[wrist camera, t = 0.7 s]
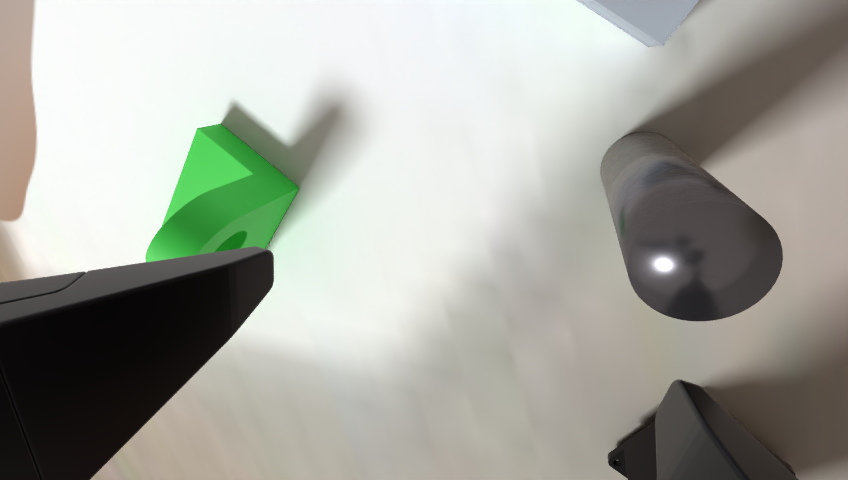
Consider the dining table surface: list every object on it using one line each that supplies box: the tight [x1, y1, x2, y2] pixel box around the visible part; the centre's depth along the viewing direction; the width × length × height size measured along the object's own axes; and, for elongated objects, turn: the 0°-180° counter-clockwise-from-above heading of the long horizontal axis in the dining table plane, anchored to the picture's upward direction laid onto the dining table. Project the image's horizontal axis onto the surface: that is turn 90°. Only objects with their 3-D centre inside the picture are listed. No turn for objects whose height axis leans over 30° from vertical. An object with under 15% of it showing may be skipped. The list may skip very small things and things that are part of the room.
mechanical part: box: [146, 124, 299, 262], centre depth 24 cm, size 12×6×8 cm, turn 144°
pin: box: [601, 132, 783, 321], centre depth 14 cm, size 3×3×10 cm
